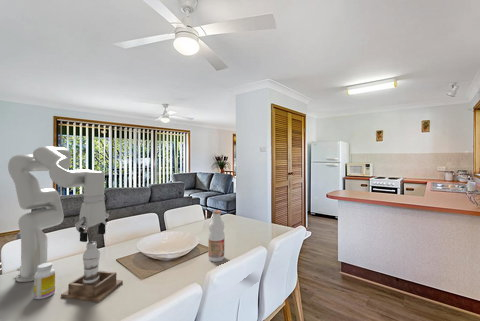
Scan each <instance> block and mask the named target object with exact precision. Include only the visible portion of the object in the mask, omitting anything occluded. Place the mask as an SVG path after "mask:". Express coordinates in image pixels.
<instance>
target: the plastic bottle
mask: <svg viewBox="0 0 480 321" xmlns="http://www.w3.org/2000/svg"><path fill="white" fill-rule="evenodd" d="M85 248H86V250H85V251H84V252H83V255H82V260H83V275H84V278H83V283H82V284H85V285H94V286H96V285H97V284H98V283H100V277H99V271H100V269H99V268H100V267H99V265H100V257H101V252H100V249H99V248H97V241H96V240H95V241H94V240H92V241H87V243H86V247H85Z"/></svg>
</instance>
